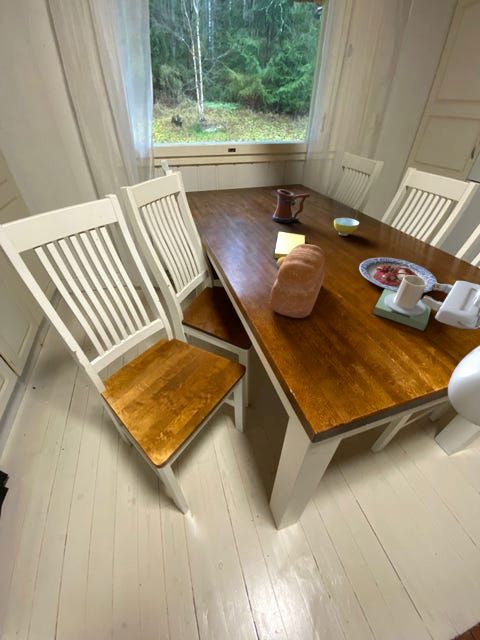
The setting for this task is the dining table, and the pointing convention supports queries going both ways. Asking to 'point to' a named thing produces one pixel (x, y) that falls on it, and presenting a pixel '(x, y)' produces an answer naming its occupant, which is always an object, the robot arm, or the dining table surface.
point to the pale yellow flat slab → (287, 243)
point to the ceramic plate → (393, 272)
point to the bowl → (345, 225)
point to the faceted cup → (410, 291)
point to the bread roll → (280, 262)
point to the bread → (298, 281)
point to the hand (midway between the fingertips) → (427, 291)
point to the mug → (287, 206)
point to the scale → (402, 311)
